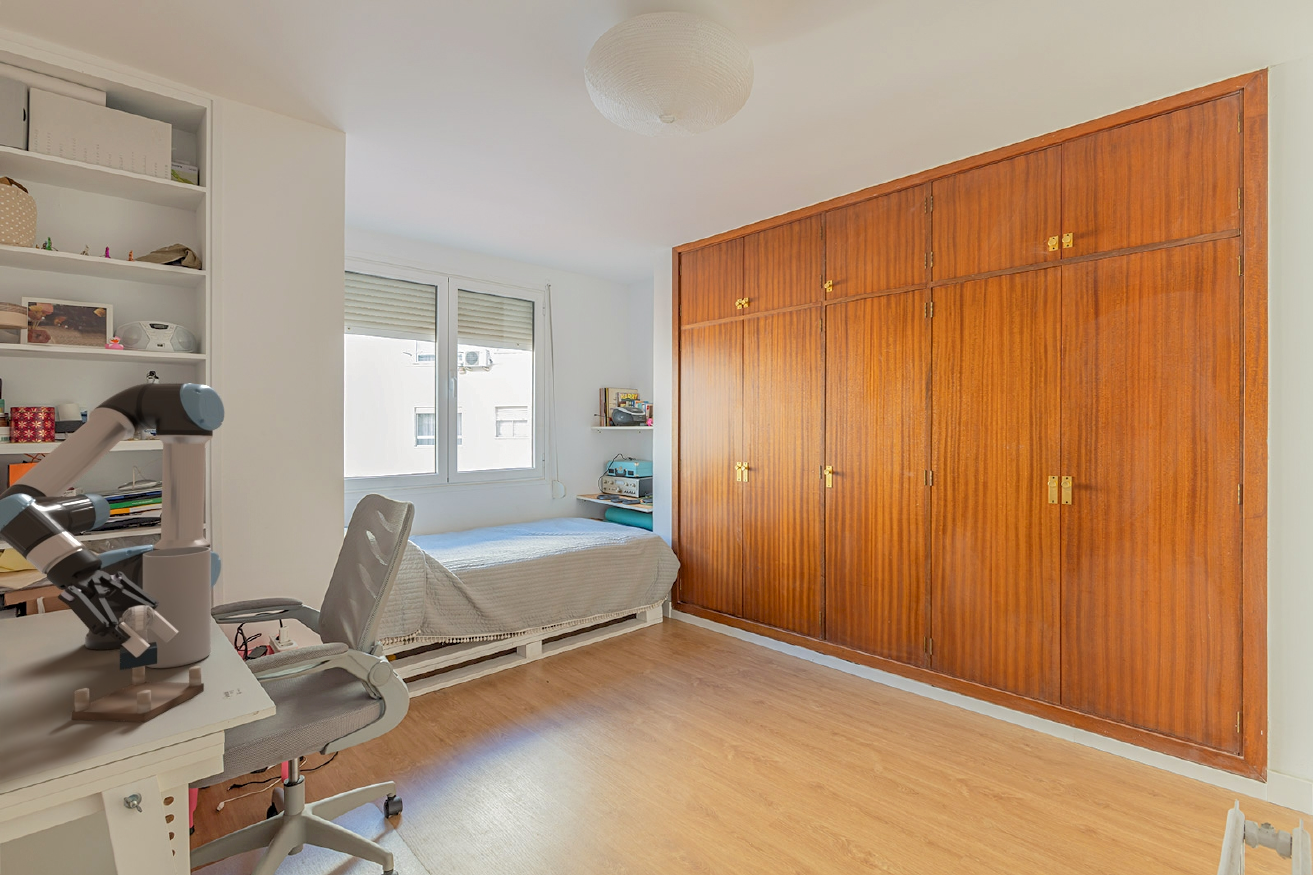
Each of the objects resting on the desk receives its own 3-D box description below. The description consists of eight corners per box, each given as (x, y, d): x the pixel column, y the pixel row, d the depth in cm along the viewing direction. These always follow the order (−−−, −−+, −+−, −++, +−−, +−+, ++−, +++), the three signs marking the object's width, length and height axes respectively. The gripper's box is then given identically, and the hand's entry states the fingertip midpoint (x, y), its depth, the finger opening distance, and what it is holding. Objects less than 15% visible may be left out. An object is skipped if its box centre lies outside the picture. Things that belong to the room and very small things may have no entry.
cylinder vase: (139, 659, 146) (139, 551, 146) (205, 646, 155) (205, 544, 155) (146, 674, 137) (146, 559, 137) (215, 659, 146) (215, 551, 146)
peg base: (138, 688, 130) (138, 664, 130) (203, 690, 129) (203, 666, 129) (71, 719, 116) (71, 692, 116) (144, 722, 115) (144, 694, 115)
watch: (155, 654, 127) (156, 599, 127) (157, 666, 120) (158, 608, 120) (118, 661, 123) (119, 604, 123) (119, 673, 117) (119, 613, 117)
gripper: (92, 565, 130) (177, 641, 132) (1, 589, 110) (103, 678, 112) (121, 539, 131) (204, 614, 133) (35, 558, 110) (136, 647, 112)
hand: (158, 644), depth 122 cm, fingers closed on watch, 8 cm apart
